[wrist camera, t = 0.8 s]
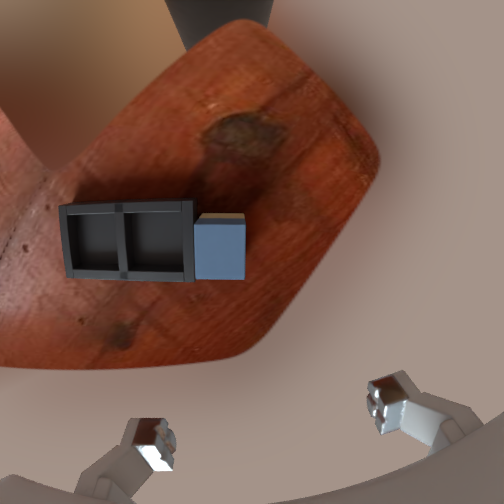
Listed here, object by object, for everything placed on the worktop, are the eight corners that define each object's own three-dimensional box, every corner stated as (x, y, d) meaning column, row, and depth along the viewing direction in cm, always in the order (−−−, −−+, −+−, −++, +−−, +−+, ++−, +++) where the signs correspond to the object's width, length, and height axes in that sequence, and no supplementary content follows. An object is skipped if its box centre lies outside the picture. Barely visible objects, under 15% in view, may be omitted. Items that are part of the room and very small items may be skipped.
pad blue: (198, 217, 25) (193, 223, 23) (244, 218, 26) (245, 224, 23) (199, 267, 27) (195, 279, 24) (243, 268, 27) (245, 279, 24)
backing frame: (71, 202, 27) (58, 205, 24) (197, 197, 28) (193, 200, 25) (78, 269, 29) (66, 278, 26) (198, 272, 30) (195, 282, 27)
